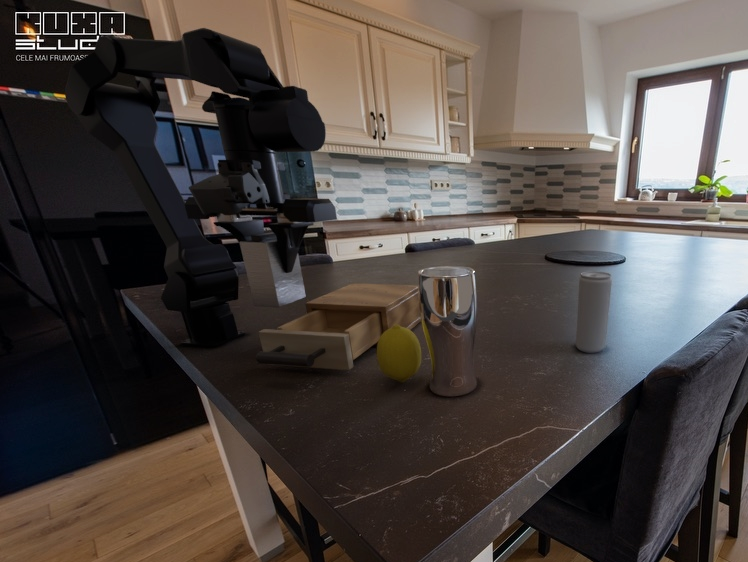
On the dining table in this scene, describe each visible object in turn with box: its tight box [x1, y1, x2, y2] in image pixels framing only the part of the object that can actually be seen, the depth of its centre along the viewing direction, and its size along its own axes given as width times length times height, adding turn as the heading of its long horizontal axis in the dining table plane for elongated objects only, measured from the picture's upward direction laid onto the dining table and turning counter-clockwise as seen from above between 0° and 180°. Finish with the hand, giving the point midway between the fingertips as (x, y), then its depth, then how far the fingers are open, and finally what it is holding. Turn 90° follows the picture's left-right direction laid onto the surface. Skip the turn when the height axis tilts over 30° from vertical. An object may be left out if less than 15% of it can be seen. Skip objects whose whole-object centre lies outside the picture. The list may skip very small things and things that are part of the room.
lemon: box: [376, 325, 422, 383], centre depth 51 cm, size 6×6×8 cm
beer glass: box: [417, 265, 479, 398], centre depth 49 cm, size 7×7×15 cm
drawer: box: [255, 309, 384, 371], centre depth 58 cm, size 18×13×5 cm
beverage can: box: [575, 270, 613, 354], centre depth 61 cm, size 5×5×12 cm
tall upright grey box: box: [238, 231, 307, 308], centre depth 57 cm, size 4×6×10 cm, turn 171°
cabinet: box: [305, 282, 421, 347], centre depth 71 cm, size 15×14×7 cm
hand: (274, 271), depth 57 cm, fingers closed on tall upright grey box, 4 cm apart
